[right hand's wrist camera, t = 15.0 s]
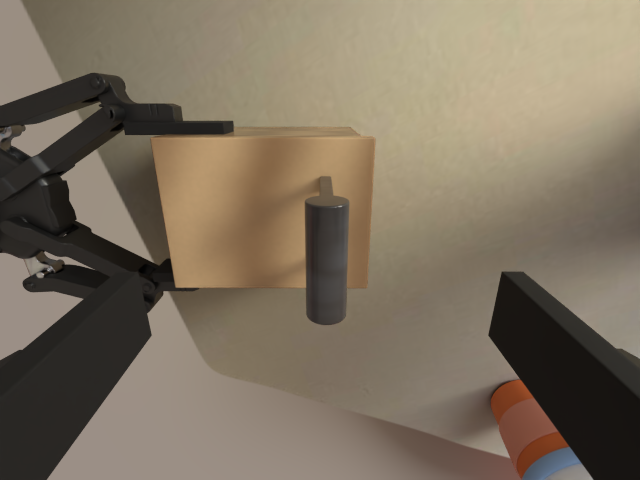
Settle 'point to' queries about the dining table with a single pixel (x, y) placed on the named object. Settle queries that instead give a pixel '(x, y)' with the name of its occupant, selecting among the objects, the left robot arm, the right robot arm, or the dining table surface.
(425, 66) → the dining table surface
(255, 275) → the lid
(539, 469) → the cup with straw
